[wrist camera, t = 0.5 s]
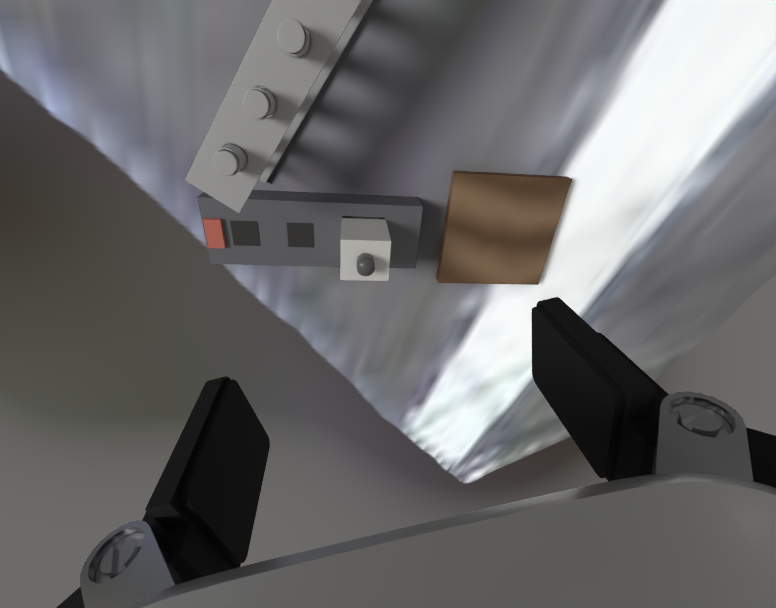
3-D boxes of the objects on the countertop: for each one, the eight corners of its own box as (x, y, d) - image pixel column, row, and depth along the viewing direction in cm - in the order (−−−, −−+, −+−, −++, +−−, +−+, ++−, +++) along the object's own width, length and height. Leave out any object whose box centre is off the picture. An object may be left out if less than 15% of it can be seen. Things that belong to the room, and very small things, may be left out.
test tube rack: (374, -131, 27) (391, -281, 16) (419, -79, 29) (463, -181, 18) (226, 155, 36) (170, 188, 25) (266, 182, 38) (231, 224, 27)
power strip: (209, 188, 38) (195, 198, 34) (417, 197, 40) (423, 207, 37) (220, 250, 41) (209, 265, 38) (411, 255, 44) (416, 270, 40)
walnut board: (452, 170, 39) (455, 172, 38) (566, 176, 40) (572, 179, 39) (436, 278, 46) (438, 282, 45) (534, 280, 47) (538, 284, 46)
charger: (342, 210, 39) (340, 246, 31) (383, 212, 40) (392, 247, 31) (342, 245, 41) (340, 287, 33) (381, 246, 42) (389, 288, 33)
